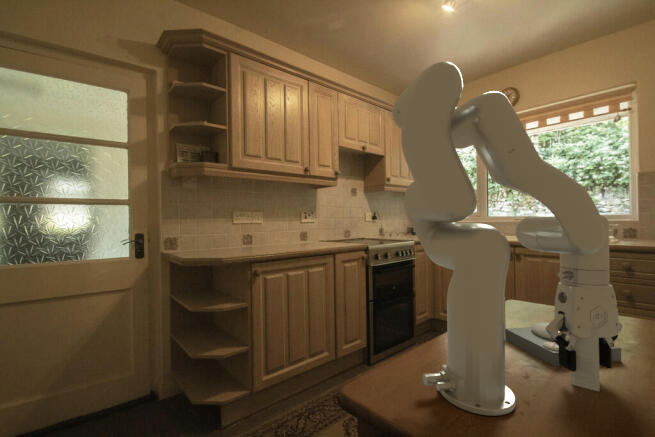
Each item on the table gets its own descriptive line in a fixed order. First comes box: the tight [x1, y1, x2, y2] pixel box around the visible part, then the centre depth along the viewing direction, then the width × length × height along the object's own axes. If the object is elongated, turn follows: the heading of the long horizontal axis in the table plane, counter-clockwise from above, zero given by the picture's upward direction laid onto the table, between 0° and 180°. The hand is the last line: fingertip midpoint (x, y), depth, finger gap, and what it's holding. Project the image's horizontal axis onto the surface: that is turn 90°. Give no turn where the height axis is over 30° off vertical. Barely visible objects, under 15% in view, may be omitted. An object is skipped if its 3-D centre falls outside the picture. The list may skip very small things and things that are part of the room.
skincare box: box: [570, 327, 601, 392], centre depth 60 cm, size 6×4×12 cm
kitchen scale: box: [505, 322, 622, 368], centre depth 75 cm, size 17×15×4 cm
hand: (584, 365), depth 60 cm, fingers closed on skincare box, 7 cm apart
